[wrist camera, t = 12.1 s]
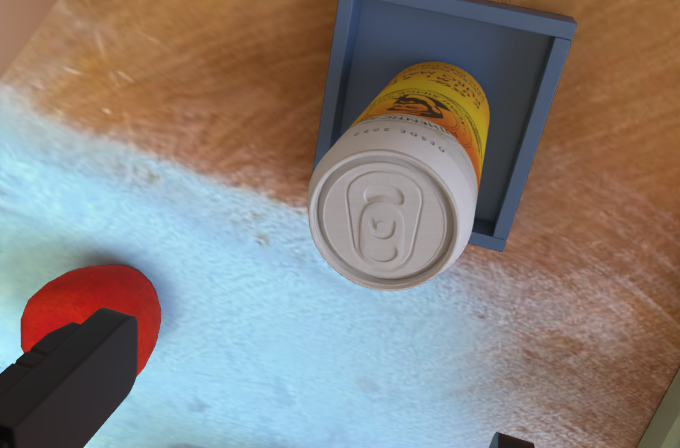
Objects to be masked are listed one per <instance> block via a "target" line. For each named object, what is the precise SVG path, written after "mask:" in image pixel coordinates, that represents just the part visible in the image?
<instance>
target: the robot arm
mask: <svg viewBox="0 0 680 448" xmlns="http://www.w3.org/2000/svg"><path fill="white" fill-rule="evenodd" d="M137 371H138V321H137V318H136V317H134V316H132V315H128V314H125V313H122V312H119V311H116V310H112V309H109V308H106V307H102V308H100V309H98V310H97V311H96V312H94V313H93V314H92V315H91V316H90V317H89V318H88V319H86V320H85V321H84V322H83V323H82V324H78V323H75V322H72V323H70V324H67V325H65V326H63V327H61V328H58V329H56V330H54V331H52V332H49V333H48V334H47V335H46V336H44V337H43V338H42V339H41V340H40V341H38V342H37V343H36V344H35V345H34V346H33V347H31V350H30V351H27V352H25V353H24V354H23V355H22V356H21V357H19V358H18V359H17V360H16V363H15V364H13V363H12V364H11V365H10V366H9V367H8V368H6V369H5V370H4V371H3V372H2V373H1V374H0V448H83V447H84V446H85V445H86V444H87V443H88V441H89V440H90V439H91V438H92V437H93V436H94V434H95V433H96V432H97V431H98V430H99V429H100V427H101V426H102V425H103V424H104V423H105V421H106V420H107V419H108V418H109V417H110V416H111V414H112V413H113V412H114V411H115V410H116V409H117V407H118V406H119V405H120V404H121V403H122V402H123V400H124V399H125V398H126V397H127V395H128V394H129V392H130V391H131V389H132V387H133V385H134V382H135V379H136V376H137ZM489 448H535V447H534V444H533V443H531V442H528V441H525V440H521V439H518V438H515V437H512V436H509V435H506V434H502V433H499V432H496V433H495V435H494V437H493V439H492V442H491V444H490V447H489Z"/></svg>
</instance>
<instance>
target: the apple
mask: <svg viewBox="0 0 680 448" xmlns="http://www.w3.org/2000/svg"><path fill="white" fill-rule="evenodd" d="M102 307H106V308H109V309H112V310H116V311H119V312H122V313H125V314H128V315H132V316H134V317H136V318H137V321H138V371H137V376H138V375H139V373H140V372H141V371H142V370H143V369H144V367H145V365H146V363H147V361H148V359H149V357H150V355H151V353H152V351H153V349H154V347H155V344H156V341H157V338H158V333H159V328H160V323H161V308H160V304H159V300H158V297H157V293H156V291H155V289H154V287H153V285H152V283H151V282H150V281H149V280H148V279H147V278H146V277H145V276H144V275H143V274H142V273H141V272H140V271H139V270H136V269H133V268H131V267H128V266H124V265H100V266H88V267H83V268H79V269H75V270H72V271H69V272H67V273H65V274H63V275H61V276H60V277H58V278H56V279H54V280H52V281H51V282H49V283H47V284H46V285H45V286H43V287H42V288H41V289H40V290H39V291H38V292H37V293H36V294H34V295H33V296H32V297H31V298H30V299H29V300H28V302H27V304H26V307H25V309H24V312H23V315H22V318H21V348H22V350H23V352H24V353H25V352H27V351H30V350H31V347H33V346H34V345H35V344H36V343H37V342H38V341H40V340H41V339H42V338H43V337H44V336H46V335H47V334H48V333H49V332H52V331H54V330H56V329H58V328H61V327H63V326H65V325H67V324H70V323H72V322H75V323H78V324H82V323H83V322H84V321H85V320H86V319H88V318H89V317H90V316H91V315H92V314H93V313H94V312H96V311H97V310H98V309H100V308H102ZM137 376H136V377H137Z"/></svg>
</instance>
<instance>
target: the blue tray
mask: <svg viewBox="0 0 680 448" xmlns="http://www.w3.org/2000/svg"><path fill="white" fill-rule="evenodd" d="M576 27H577V23H576V21H575V20H574V19H573V17H569V16H564V15H559V14H554V13H549V12H544V11H539V10H534V9H529V8H524V7H519V6H514V5H509V4H504V3H499V2H494V1H489V0H338V6H337V13H336V20H335V26H334V33H333V40H332V46H331V53H330V60H329V66H328V73H327V80H326V86H325V93H324V100H323V106H322V113H321V120H320V126H319V133H318V140H317V146H316V153H315V160H314V166H313V172H314V170H315V168H316V167H317V165H318V163H319V162H320V160H321V159H322V158H323V157H324V155H325V154H326V153H327V152H328V151H329V150H330V149H331V148H332V146H333V145H334V144H335V143H336V142H337V141H338V140H339V139H340V137H341V136H342V135H343V134H344V133H345V132H346V131H347V130H348V129H349V127H350V126H351V125H352V124H353V123H354V122H355V121H356V120H357V118H358V117H359V116H360V115H361V114H362V113H363V112H364V111H365V109H366V108H367V107H368V106H369V105H370V104H371V103H372V102H373V101H374V99H375V98H376V97H377V96H378V95H379V94H380V93H381V92H382V90H383V89H384V88H385V87H386V86H387V85H388V84H389V83H390V82H391V80H392V79H393V78H394V77H395V76H396V75H398V74H399V73H400V72H402V71H403V70H404V69H406V68H408V67H410V66H413V65H415V64H419V63H423V62H444V63H448V64H452V65H454V66H457V67H459V68H461V69H463V70H464V71H466V72H467V73H468V74H470V75H471V76H472V77H473V78H474V79H475V80H476V81H477V82H478V84H479V85H480V86H481V88H482V90H483V92H484V93H485V96H486V98H487V102H488V105H489V112H490V120H489V128H488V134H487V140H486V147H485V153H484V159H483V166H482V172H481V178H480V184H479V191H478V197H477V203H476V209H475V216H474V222H473V227H472V231H471V235H470V238H469V240H468V244H472V245H476V246H480V247H483V248H487V249H491V250H495V251H499V252H503V250H504V247H505V244H506V240H507V237H508V234H509V231H510V228H511V225H512V222H513V219H514V216H515V213H516V210H517V207H518V204H519V201H520V198H521V195H522V192H523V189H524V186H525V182H526V179H527V176H528V173H529V170H530V167H531V164H532V161H533V158H534V155H535V152H536V149H537V146H538V143H539V140H540V137H541V134H542V131H543V127H544V124H545V121H546V118H547V115H548V112H549V109H550V106H551V103H552V100H553V97H554V94H555V91H556V88H557V85H558V82H559V79H560V76H561V72H562V69H563V66H564V63H565V60H566V57H567V54H568V51H569V48H570V45H571V40H572V39H573V36H574V33H575V30H576ZM312 175H313V173H312Z"/></svg>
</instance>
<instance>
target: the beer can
mask: <svg viewBox="0 0 680 448" xmlns="http://www.w3.org/2000/svg"><path fill="white" fill-rule="evenodd" d="M489 120H490V112H489V105H488V102H487V98H486V96H485V93H484V92H483V90H482V88H481V86H480V85H479V84H478V82H477V81H476V80H475V79H474V78H473V77H472V76H471V75H470V74H468V73H467V72H466V71H464V70H463V69H461V68H459V67H457V66H454V65H452V64H448V63H444V62H423V63H419V64H415V65H413V66H410V67H408V68H406V69H404V70H403V71H402V72H400V73H399V74H398V75H396V76H395V77H394V78H393V79H392V80H391V82H390V83H389V84H388V85H387V86H386V87H385V88H384V89H383V90H382V92H381V93H380V94H379V95H378V96H377V97H376V98H375V99H374V101H373V102H372V103H371V104H370V105H369V106H368V107H367V108H366V109H365V111H364V112H363V113H362V114H361V115H360V116H359V117H358V118H357V120H356V121H355V122H354V123H353V124H352V125H351V126H350V127H349V129H348V130H347V131H346V132H345V133H344V134H343V135H342V136H341V137H340V139H339V140H338V141H337V142H336V143H335V144H334V145H333V146H332V148H331V149H330V150H329V151H328V152H327V153H326V154H325V155H324V157H323V158H322V159H321V160H320V162H319V163H318V165H317V167H316V168H315V170H314V172H313V175H312V177H311V180H310V184H309V188H308V196H307V208H308V215H309V226H310V231H311V234H312V237H313V240H314V243H315V245H316V247H317V249H318V250H319V252H320V253H321V255H322V256H323V258H324V259H325V260H326V261H327V263H328V264H329V265H330V266H331V267H332V268H333V269H334V270H336V271H337V272H338V273H339V274H340V275H342V276H343V277H345V278H347V279H348V280H350V281H352V282H354V283H356V284H358V285H361V286H364V287H367V288H370V289H375V290H382V291H399V290H406V289H410V288H414V287H417V286H419V285H422V284H424V283H426V282H428V281H429V280H431V279H432V278H434V277H435V276H437V275H438V274H440V273H441V272H443V271H445V270H446V269H447V268H448V267H450V266H451V265H452V264H453V263H454V262H455V261H456V260H457V259H458V257H459V256H460V255H461V253H462V252H463V250H464V248H465V247H466V245H467V243H468V240H469V238H470V235H471V231H472V227H473V222H474V216H475V209H476V203H477V197H478V191H479V184H480V178H481V172H482V166H483V159H484V153H485V147H486V140H487V134H488V128H489Z"/></svg>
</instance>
